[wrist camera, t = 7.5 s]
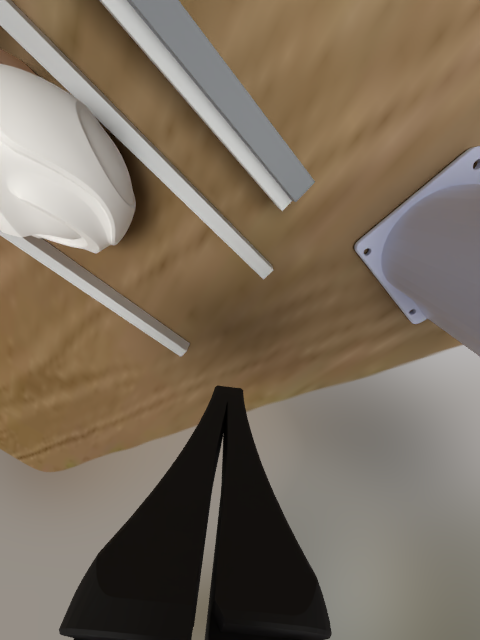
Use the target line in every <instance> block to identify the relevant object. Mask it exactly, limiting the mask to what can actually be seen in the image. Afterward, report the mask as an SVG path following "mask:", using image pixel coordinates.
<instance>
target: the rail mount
mask: <svg viewBox="0 0 480 640" xmlns="http://www.w3.org/2000/svg"><path fill="white" fill-rule="evenodd" d="M99 1H100V2H101V3H102V4H103V5H104V7H105V8H106V9H107V10H108V11H109V12H110V14H111V15H112V16H113V17H114V18H115V19H116V21H117V22H118V23H119V24H120V25H121V26H122V28H123V29H124V30H125V31H126V32H127V33H128V34H129V36H130V37H131V38H132V39H133V40H134V41H135V43H136V44H137V45H138V46H139V47H140V48H141V50H142V51H143V52H144V53H145V54H146V55H147V56H148V58H149V59H150V60H151V61H152V62H153V63H154V65H155V66H156V67H157V68H158V69H159V70H160V72H161V73H162V74H163V75H164V76H165V77H166V79H167V80H168V81H169V82H170V83H171V84H172V85H173V87H174V88H175V89H176V90H177V91H178V92H179V94H180V95H181V96H182V97H183V98H184V99H185V101H186V102H187V103H188V104H189V105H190V106H191V107H192V109H193V110H194V111H195V112H196V113H197V114H198V116H199V117H200V118H201V119H202V120H203V121H204V123H205V124H206V125H207V126H208V127H209V128H210V129H211V131H212V132H213V133H214V134H215V135H216V136H217V138H218V139H219V140H220V141H221V142H222V143H223V145H224V146H225V147H226V148H227V149H228V150H229V152H230V153H231V154H232V155H233V156H234V157H235V158H236V160H237V161H238V162H239V163H240V164H241V165H242V167H243V168H244V169H245V170H246V171H247V172H248V174H249V175H250V176H251V177H252V178H253V179H254V180H255V182H256V183H257V184H258V185H259V186H260V187H261V189H262V190H263V191H264V192H265V193H266V194H267V196H268V197H269V198H270V199H271V200H272V201H273V203H274V204H275V205H276V206H277V207H278V208H279V209H280V210H282V211H283V210H284V209H285V208H286V207H287V206H288V205H289V204H290V203H291V202H292V201H294V202H296V201H297V200H298V199H299V198H300V197H301V196H302V195H303V194H304V193H305V192H306V191H307V190H308V189H309V188H310V187H311V186H312V185H313V184H314V183H315V181H314V180H313V179H312V177H311V176H310V175H309V173H308V172H307V171H306V169H305V168H304V167H303V165H302V164H301V163H300V161H299V160H298V159H297V157H296V156H295V155H294V153H293V152H292V151H291V149H290V148H289V147H288V145H287V144H286V143H285V141H284V140H283V139H282V137H281V136H280V135H279V133H278V132H277V131H276V129H275V128H274V127H273V125H272V124H271V123H270V121H269V120H268V119H267V117H266V116H265V115H264V113H263V112H262V111H261V109H260V108H259V107H258V105H257V104H256V103H255V101H254V100H253V99H252V97H251V96H250V95H249V93H248V92H247V91H246V89H245V88H244V87H243V85H242V84H241V83H240V81H239V80H238V79H237V77H236V76H235V75H234V74H233V72H232V71H231V70H230V68H229V67H228V66H227V64H226V63H225V62H224V60H223V59H222V58H221V56H220V55H219V54H218V52H217V51H216V50H215V48H214V47H213V46H212V44H211V43H210V42H209V40H208V39H207V38H206V36H205V35H204V34H203V32H202V31H201V30H200V28H199V27H198V26H197V24H196V23H195V22H194V20H193V19H192V18H191V16H190V15H189V14H188V12H187V11H186V10H185V8H184V7H183V6H182V4H181V3H180V2H179V0H99ZM0 26H2V27H3V28H4V29H5V30H6V31H7V32H8V33H9V34H10V35H11V36H12V37H13V38H14V39H15V40H16V41H17V42H18V43H19V44H20V45H21V46H22V47H23V48H24V49H25V50H26V51H27V52H28V53H30V54H31V55H32V56H33V57H34V58H35V59H36V60H37V61H38V62H39V63H40V64H41V65H42V66H43V67H44V68H45V69H46V70H47V71H48V72H49V73H50V74H51V75H52V76H53V77H54V78H55V79H56V80H57V81H59V82H60V83H61V84H62V85H63V86H64V87H65V88H66V89H67V90H68V91H69V92H70V93H71V94H72V95H73V96H74V97H75V98H77V99H78V100H79V101H81V102H82V103H83V104H84V105H85V106H86V107H87V108H88V109H89V110H90V111H91V112H92V114H93V115H94V116H95V117H96V118H97V119H98V120H99V121H100V122H101V123H102V124H103V125H104V126H105V127H106V128H107V129H108V130H109V131H110V132H111V133H112V134H113V135H114V136H116V137H117V138H118V139H119V140H120V141H121V142H122V143H123V144H124V145H125V146H126V147H127V148H128V149H129V150H130V151H131V152H132V153H133V154H134V155H135V156H136V157H137V158H138V159H139V160H140V161H141V162H142V163H143V164H145V165H146V166H147V167H148V168H149V169H150V170H151V171H152V172H153V173H154V174H155V175H156V176H157V177H158V178H159V179H160V180H161V181H162V182H163V183H164V184H165V185H166V186H167V187H168V188H169V189H170V190H171V191H172V192H174V193H175V194H176V195H177V196H178V197H179V198H180V199H181V200H182V201H183V202H184V203H185V204H186V205H187V206H188V207H189V208H190V209H191V210H192V211H193V212H194V213H195V214H196V215H197V216H198V217H199V218H200V219H201V220H203V221H204V222H205V223H206V224H207V225H208V226H209V227H210V228H211V229H212V230H213V231H214V232H215V233H216V234H217V235H218V236H219V237H220V238H221V239H222V240H223V241H224V242H225V243H226V244H227V245H228V246H229V247H231V248H232V249H233V250H234V251H235V252H236V253H237V254H238V255H239V256H240V257H241V258H242V259H243V260H244V261H245V262H246V263H247V264H248V265H249V266H250V267H251V268H252V269H253V270H254V271H255V272H256V273H257V274H258V275H260V276H261V277H262V278H263V279H265V278H266V277H267V276H268V275H269V274H270V273H271V272H272V271H273V267H272V265H271V264H270V263H269V262H268V261H267V260H266V259H265V258H264V257H263V256H262V255H261V254H260V253H259V252H258V250H257V249H256V248H255V247H254V246H253V245H252V244H251V243H250V242H249V241H248V240H247V239H246V238H245V237H244V236H243V235H242V234H241V233H240V232H239V231H238V230H237V229H236V228H235V227H234V226H233V225H232V224H231V223H230V222H229V221H228V220H227V219H226V218H225V217H224V216H223V215H222V214H221V213H220V212H219V211H218V210H217V209H216V208H215V207H214V206H213V205H212V204H211V203H210V202H209V201H208V200H207V199H206V198H205V197H204V196H203V195H202V194H201V193H200V192H199V191H198V190H197V189H196V188H195V187H194V186H193V185H192V183H191V182H190V181H189V180H188V179H187V178H186V177H185V176H184V175H183V174H182V173H181V172H180V171H179V170H178V169H177V168H176V167H175V166H174V165H173V164H172V163H171V162H170V161H169V160H168V159H167V158H166V157H165V156H164V155H163V154H162V153H161V152H160V151H159V150H158V149H157V148H156V147H155V146H154V145H153V144H152V143H151V142H150V141H149V140H148V139H147V138H146V137H145V136H144V135H143V134H142V133H141V132H140V131H139V130H138V129H137V128H136V127H135V126H134V125H133V124H132V123H131V122H130V121H129V120H128V119H127V118H126V117H125V115H124V114H123V113H122V112H121V111H120V110H119V109H118V108H117V107H116V106H115V105H114V104H113V103H112V102H111V101H110V100H109V99H108V98H107V97H106V96H105V95H104V94H103V93H102V92H101V91H100V90H99V89H98V88H97V87H96V86H95V85H94V84H93V83H92V82H91V81H90V80H89V79H88V78H87V77H86V76H85V75H84V74H83V73H82V72H81V71H80V70H79V69H78V68H77V67H76V66H75V65H74V64H73V63H72V62H71V61H70V60H69V59H68V58H67V57H66V56H65V55H64V54H63V53H62V52H61V51H60V50H59V48H58V47H57V46H56V45H55V44H54V43H53V42H52V41H51V40H50V39H49V38H48V37H47V36H46V35H45V34H44V33H43V32H42V31H41V30H40V29H39V28H38V27H37V26H36V25H35V24H34V23H33V22H32V21H31V20H30V19H29V18H28V17H27V16H26V15H25V14H24V13H23V12H22V11H21V10H20V9H19V8H18V7H17V6H16V5H15V4H14V3H13V2H12V1H11V0H0ZM0 235H1V236H2V237H4V238H5V239H7V240H8V241H10V242H11V243H13V244H14V245H15V246H17V247H18V248H20V249H21V250H23V251H24V252H26V253H27V254H29V255H30V256H32V257H33V258H35V259H36V260H38V261H39V262H41V263H42V264H44V265H45V266H47V267H48V268H50V269H51V270H53V271H54V272H56V273H57V274H59V275H60V276H62V277H63V278H65V279H66V280H67V281H69V282H70V283H72V284H73V285H75V286H76V287H78V288H79V289H81V290H82V291H84V292H85V293H87V294H88V295H90V296H91V297H93V298H94V299H96V300H97V301H99V302H100V303H102V304H103V305H105V306H106V307H108V308H109V309H111V310H112V311H114V312H115V313H116V314H118V315H119V316H121V317H122V318H124V319H125V320H127V321H128V322H130V323H131V324H133V325H134V326H136V327H137V328H139V329H140V330H142V331H143V332H145V333H146V334H148V335H149V336H151V337H152V338H154V339H155V340H157V341H158V342H160V343H161V344H163V345H164V346H166V347H167V348H168V349H170V350H171V351H173V352H174V353H176V354H177V355H179V356H180V357H181V356H182V355H183V354H184V353H185V352H186V351H187V350H188V347H189V345H190V343H189V342H187V341H186V340H184V339H183V338H182V337H180V336H179V335H177V334H176V333H175V332H173V331H172V330H170V329H169V328H168V327H166V326H165V325H163V324H162V323H160V322H159V321H158V320H156V319H155V318H153V317H152V316H151V315H149V314H148V313H146V312H145V311H144V310H142V309H141V308H139V307H138V306H137V305H135V304H134V303H132V302H131V301H129V300H128V299H127V298H125V297H124V296H122V295H121V294H120V293H118V292H117V291H115V290H114V289H113V288H111V287H110V286H108V285H107V284H106V283H104V282H103V281H101V280H100V279H99V278H97V277H96V276H94V275H93V274H91V273H90V272H89V271H87V270H86V269H84V268H83V267H82V266H80V265H79V264H77V263H76V262H75V261H73V260H72V259H70V258H69V257H68V256H66V255H65V254H63V253H62V252H60V251H59V250H58V249H56V248H55V247H53V246H52V245H51V244H49V243H48V242H46V241H45V240H44V239H42V238H40V239H39V238H36V237H34V236H32V235H30V236H26V237H17V236H12V235H9V234H6V233H3V232H2V231H1V230H0Z"/></svg>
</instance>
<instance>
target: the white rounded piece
mask: <svg viewBox="0 0 480 640" xmlns="http://www.w3.org/2000/svg"><path fill="white" fill-rule="evenodd" d="M135 207H136V201H135V196H134V193H133V190H132V184H131V179H130V176H129V172H128V169H127V167H126V164H125V162H124V160H123V158H122V156H121V154H120V152H119V150H118V148H117V147H116V145H115V144H114V142H113V141H112V139H111V138H110V137H109V135H108V134H107V133H106V131H105V130H104V129H103V128H102V126H101V125H100V123H99V122H98V120H97V119H96V118H95V116H94V115H93V114H92V112H91V111H90V110H89V109H88V108H87V107H86V106H85V105H84V104H83V103H82V102H81V101H79V100H78V99H77V98H75V97H74V96H72V95H71V94H69V93H68V92H66V91H64V90H63V89H61V88H59V87H58V86H56V85H54V84H52V83H50V82H48V81H47V80H45V79H43V78H41V77H39V76H36V75H34V74H32V73H30V72H27V71H24V70H22V69H19V68H16V67H12V66H9V65H4V64H0V230H1V231H2V232H3V233H6V234H9V235H12V236H17V237H26V236H30V235H32V236H34V237H36V238H39V239H40V238H44V239H47V240H50V241H53V242H56V243H59V244H63V245H67V246H70V247H75V248H80V249H86V250H88V251H91V252H93V253H95V254H96V253H98V252H100V251H102V250H103V249H105V248H106V247H108V246H110V245H117V244H118V243H119V242H120V240H121V239H122V238H123V237H124V235H125V234H126V232H127V230H128V228H129V226H130V224H131V221H132V219H133V215H134V212H135Z"/></svg>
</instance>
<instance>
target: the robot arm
mask: <svg viewBox="0 0 480 640" xmlns="http://www.w3.org/2000/svg"><path fill="white" fill-rule="evenodd" d="M476 160H477V165H476V167H475V168H474V169H473V164H474V163H475V161H476ZM367 248H369V251H368V252H367V253H366V254H364V250H365V249H367ZM354 249H355V251H356V252H357V254H358V255H359V256H360V258H361V259H362V260H363V261H364V263H365V264H366V265H367V267H368V268H369V269H370V270H371V272H372V273H373V274H374V276H375V277H376V278H377V279H378V281H379V282H380V283H381V285H382V286H383V287H384V288H385V290H386V291H387V292H388V294H389V295H390V296H391V297H392V299H393V300H394V301H395V303H396V304H397V305H398V306H399V308H400V309H401V310H402V312H403V313H404V314H405V315H406V317H407V318H408V319H409V321H411V322H412V323H413V324H418V323H421V322H422V321H424V320H426V319H429V320H430V321H432V322H433V323H435V324H436V325H437V326H439V327H440V328H441V329H443V330H444V331H446V332H447V333H448V334H450V335H451V336H452V337H454V338H455V339H457V340H458V341H459V342H461V343H462V344H463V345H465V346H466V347H468V348H469V349H470V350H472V351H473V352H474V353H476V354H477V355H479V356H480V146H477V147H472V148H470V149H468V150H466V151H465V152H464V153H463V154H462V155H460V156H459V157H458V158H457V159H456V160H454V161H453V162H452V163H451V164H450V165H448V166H447V167H446V168H445V169H444V170H442V171H441V172H440V173H439V174H438V175H436V176H435V177H434V178H433V179H432V180H430V181H429V182H428V183H427V184H426V185H424V186H423V187H422V188H421V189H420V190H418V191H417V192H416V193H415V194H414V195H412V196H411V197H410V198H409V199H408V200H406V201H405V202H404V203H403V204H402V205H400V206H399V207H398V208H397V209H396V210H394V211H393V212H392V213H391V214H389V215H388V216H387V217H386V218H385V219H383V220H382V221H381V222H380V223H379V224H377V225H376V226H375V227H374V228H373V229H371V230H370V231H369V232H368V233H367V234H365V235H364V236H363V237H362V238H361V239H359V240H358V241H357V242H356V244H355V246H354ZM412 309H413V310H412ZM411 310H412V311H411ZM410 311H411V312H410ZM223 433H224V435H223ZM222 438H223V462H222V486H221V498H220V507H219V517H218V525H217V535H216V545H215V553H214V562H213V572H212V580H211V589H210V598H209V606H208V615H207V624H206V634H205V640H325V639H329V638H330V636H331V628H330V621H329V617H328V613H327V609H326V605H325V601H324V598H323V595H322V592H321V589H320V586H319V583H318V580H317V577H316V575H315V573H314V572H313V570H312V568H311V566H310V564H309V562H308V561H307V559H306V557H305V555H304V553H303V551H302V549H301V548H300V546H299V544H298V542H297V540H296V538H295V536H294V534H293V532H292V530H291V528H290V526H289V524H288V523H287V520H286V518H285V516H284V514H283V512H282V510H281V508H280V505H279V503H278V501H277V499H276V497H275V495H274V493H273V490H272V488H271V486H270V483H269V481H268V478H267V476H266V474H265V471H264V469H263V466H262V464H261V461H260V458H259V455H258V452H257V449H256V446H255V443H254V440H253V437H252V433H251V430H250V426H249V423H248V419H247V414H246V410H245V404H244V398H243V390H242V389H241V388H232V387H224V386H216V387H215V389H214V392H213V395H212V398H211V400H210V402H209V404H208V407H207V409H206V411H205V413H204V415H203V416H202V418H201V420H200V422H199V424H198V426H197V427H196V429H195V431H194V432H193V434H192V436H191V437H190V439H189V441H188V442H187V444H186V445H185V447H184V448H183V450H182V451H181V453H180V454H179V456H178V457H177V459H176V460H175V462H174V463H173V464H172V466H171V467H170V469H169V470H168V471H167V473H166V474H165V475H164V477H163V478H162V479H161V481H160V482H159V483H158V485H157V486H156V487H155V488H154V490H153V491H152V492H151V493H150V495H149V496H148V497H147V498H146V499H145V501H144V502H143V503H142V504H141V505H140V507H139V508H138V509H137V510H136V512H135V513H134V514H133V515H132V516H131V518H130V519H129V520H128V521H127V522H126V523H125V524H124V525H123V527H122V528H121V529H120V530H119V531H118V532H117V533H116V534H115V535H114V537H113V538H112V539H111V540H110V541H109V542H108V543H107V544H106V545H105V547H104V548H103V549H102V550H101V551H100V552H99V553H98V555H97V557H96V558H95V560H94V561H93V563H92V564H91V566H90V567H89V569H88V571H87V573H86V574H85V576H84V577H83V579H82V581H81V583H80V585H79V587H78V589H77V590H76V592H75V594H74V597H73V599H72V601H71V603H70V606H69V608H68V610H67V613H66V615H65V617H64V619H63V622H62V624H61V626H60V629H59V631H60V634H61V635H64V636H68V637H73V638H74V640H191V637H192V630H193V627H194V621H195V613H196V605H197V598H198V591H199V583H200V575H201V568H202V561H203V552H204V545H205V538H206V530H207V523H208V516H209V508H210V501H211V493H212V487H213V482H214V477H215V472H216V467H217V462H218V457H219V453H220V448H221V443H222Z"/></svg>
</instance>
